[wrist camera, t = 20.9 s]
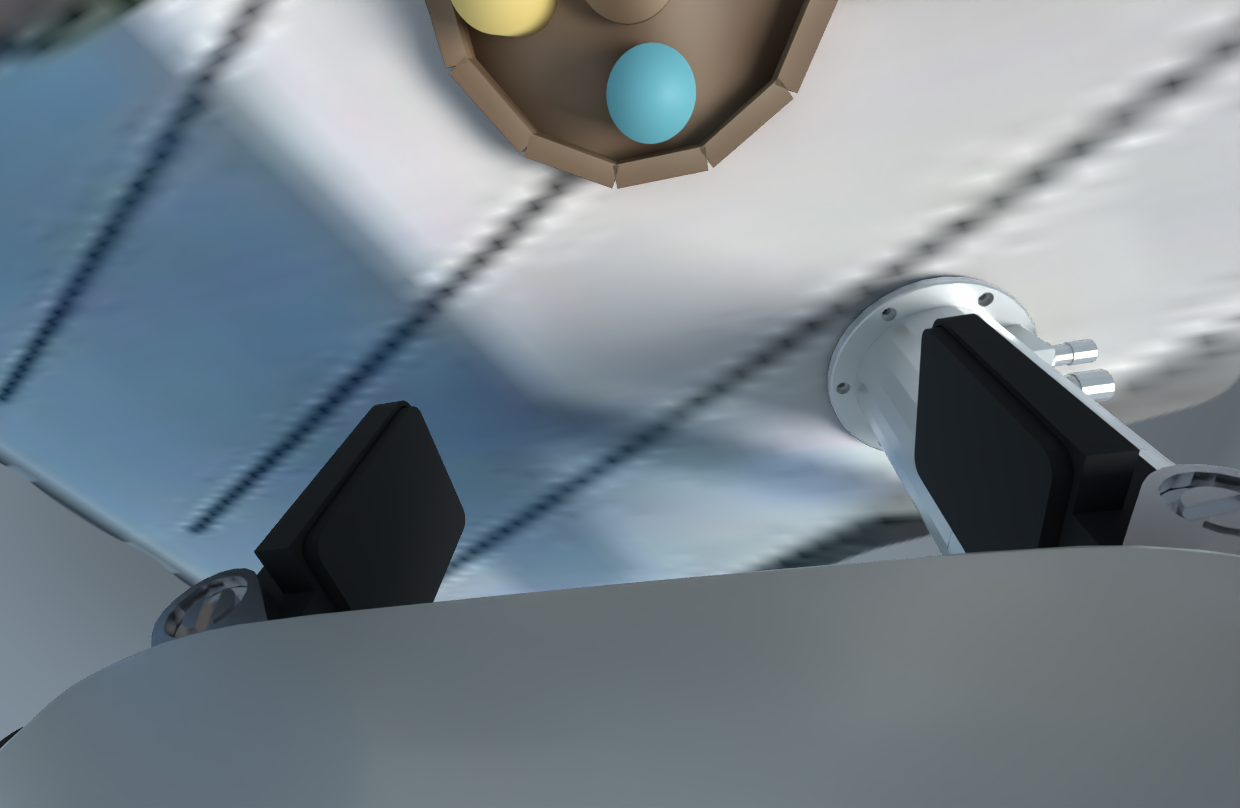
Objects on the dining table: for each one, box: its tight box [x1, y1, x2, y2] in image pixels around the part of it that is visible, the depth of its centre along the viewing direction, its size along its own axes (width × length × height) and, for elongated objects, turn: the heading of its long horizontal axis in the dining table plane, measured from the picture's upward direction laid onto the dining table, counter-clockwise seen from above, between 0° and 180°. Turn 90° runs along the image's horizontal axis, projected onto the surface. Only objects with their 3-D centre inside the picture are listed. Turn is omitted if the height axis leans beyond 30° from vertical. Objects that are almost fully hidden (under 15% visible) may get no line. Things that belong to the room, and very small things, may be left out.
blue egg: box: [606, 43, 696, 144], centre depth 28 cm, size 4×4×5 cm
